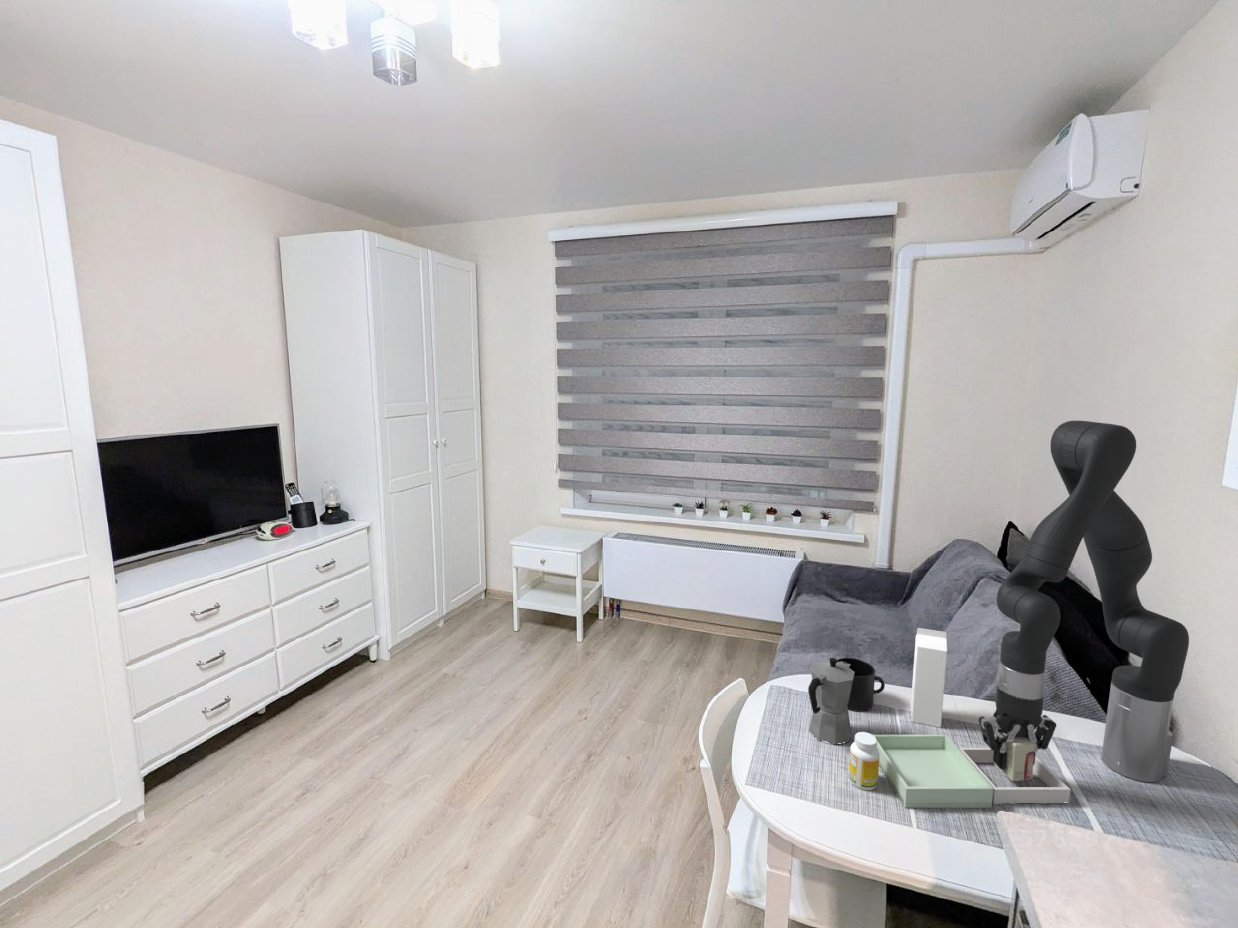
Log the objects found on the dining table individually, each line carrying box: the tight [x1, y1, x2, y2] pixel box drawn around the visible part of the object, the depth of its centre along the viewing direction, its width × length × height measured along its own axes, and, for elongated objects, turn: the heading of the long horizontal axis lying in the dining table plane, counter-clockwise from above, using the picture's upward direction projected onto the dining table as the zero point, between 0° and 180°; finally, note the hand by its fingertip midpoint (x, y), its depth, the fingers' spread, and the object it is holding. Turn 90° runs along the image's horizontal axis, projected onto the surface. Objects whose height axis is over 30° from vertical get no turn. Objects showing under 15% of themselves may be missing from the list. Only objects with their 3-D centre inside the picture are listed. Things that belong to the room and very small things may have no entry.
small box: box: [994, 733, 1035, 782], centre depth 112 cm, size 5×4×8 cm
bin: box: [872, 734, 993, 809], centre depth 114 cm, size 16×16×4 cm
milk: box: [910, 627, 948, 729], centre depth 132 cm, size 6×6×22 cm
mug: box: [836, 657, 886, 712], centre depth 140 cm, size 9×12×9 cm
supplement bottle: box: [848, 731, 880, 791], centre depth 113 cm, size 5×5×10 cm
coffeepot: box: [807, 657, 855, 745], centre depth 127 cm, size 15×9×18 cm, turn 129°
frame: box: [957, 747, 1071, 805], centre depth 113 cm, size 14×12×3 cm
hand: (1013, 765), depth 113 cm, fingers closed on small box, 4 cm apart
